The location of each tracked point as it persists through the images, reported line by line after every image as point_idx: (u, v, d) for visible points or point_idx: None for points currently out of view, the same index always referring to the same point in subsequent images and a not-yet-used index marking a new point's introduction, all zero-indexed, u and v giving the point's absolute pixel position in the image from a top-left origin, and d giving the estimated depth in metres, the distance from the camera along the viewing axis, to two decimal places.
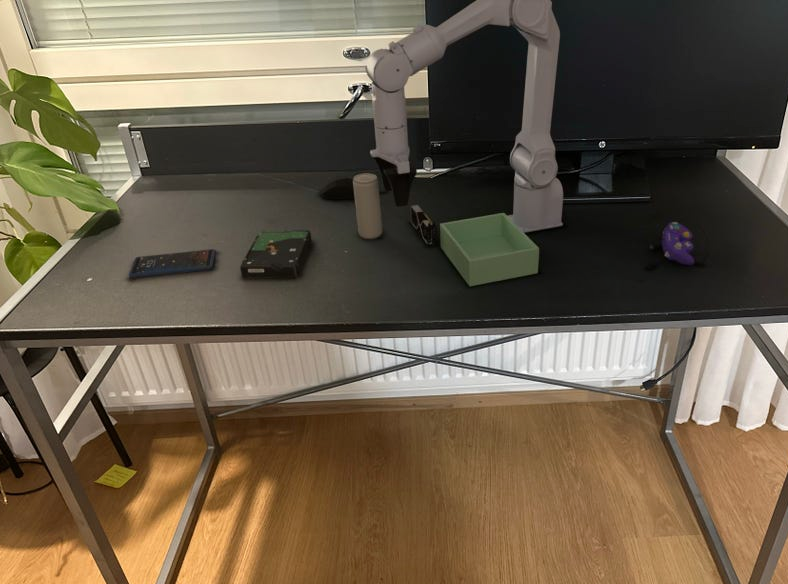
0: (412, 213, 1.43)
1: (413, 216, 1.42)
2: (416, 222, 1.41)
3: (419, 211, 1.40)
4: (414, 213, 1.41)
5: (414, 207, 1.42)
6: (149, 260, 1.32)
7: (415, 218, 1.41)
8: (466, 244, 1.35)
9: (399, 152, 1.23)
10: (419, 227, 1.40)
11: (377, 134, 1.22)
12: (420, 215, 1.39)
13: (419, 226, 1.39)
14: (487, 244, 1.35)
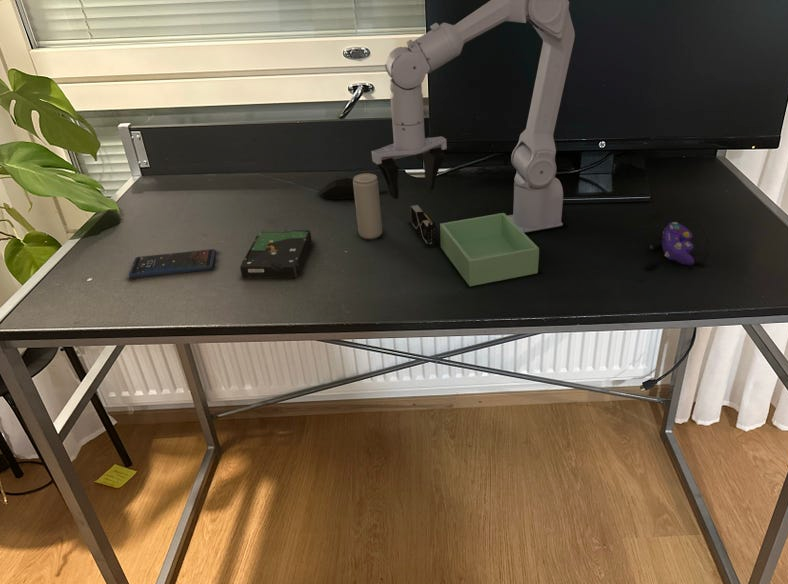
0: (412, 213, 1.43)
1: (413, 216, 1.42)
2: (416, 222, 1.41)
3: (419, 211, 1.40)
4: (414, 213, 1.41)
5: (414, 207, 1.41)
6: (149, 260, 1.32)
7: (415, 218, 1.41)
8: (466, 244, 1.35)
9: (397, 147, 1.26)
10: (419, 227, 1.39)
11: None
12: (420, 215, 1.38)
13: (419, 226, 1.39)
14: (487, 244, 1.35)
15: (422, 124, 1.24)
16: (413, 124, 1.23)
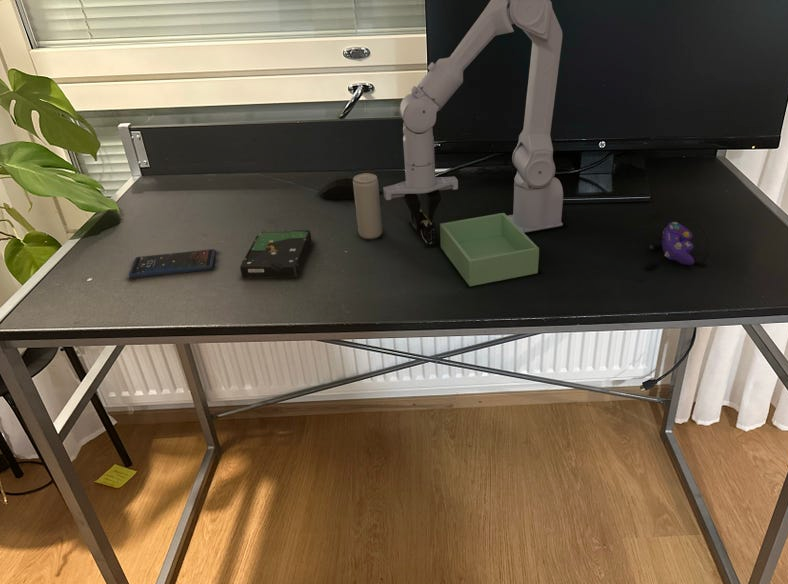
0: None
1: None
2: None
3: None
4: None
5: None
6: (149, 260, 1.32)
7: None
8: (466, 244, 1.35)
9: (407, 185, 1.33)
10: None
11: None
12: None
13: None
14: (487, 244, 1.35)
15: (432, 165, 1.30)
16: (422, 165, 1.29)
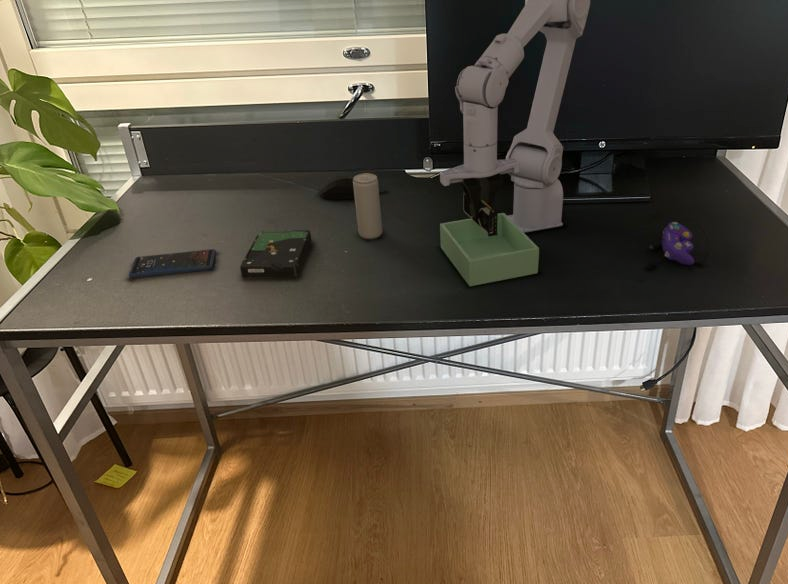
0: (465, 201, 1.30)
1: (467, 204, 1.30)
2: None
3: None
4: None
5: None
6: (149, 260, 1.32)
7: None
8: (466, 244, 1.35)
9: (467, 169, 1.20)
10: None
11: None
12: None
13: None
14: (487, 244, 1.35)
15: (495, 146, 1.18)
16: (485, 146, 1.17)
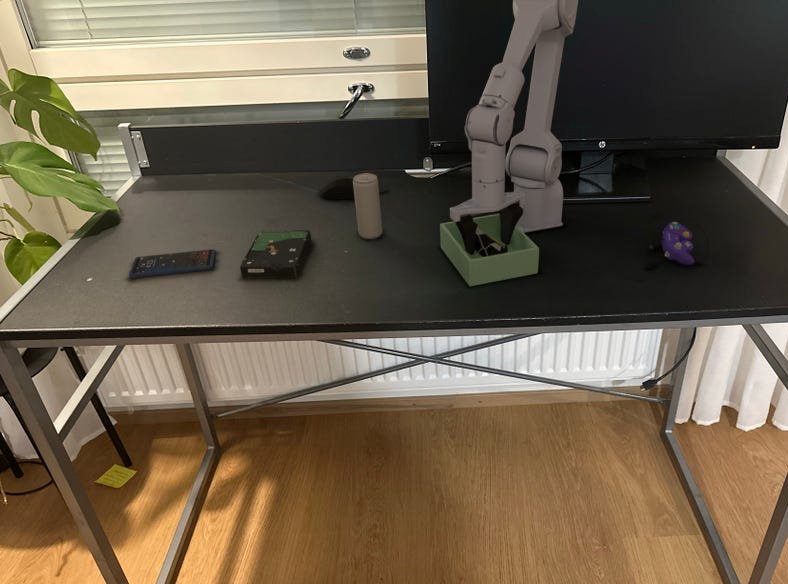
0: None
1: None
2: (478, 245, 1.31)
3: (481, 233, 1.30)
4: None
5: None
6: (149, 260, 1.32)
7: (476, 241, 1.31)
8: None
9: (476, 204, 1.22)
10: (483, 251, 1.30)
11: None
12: (485, 238, 1.29)
13: (483, 250, 1.29)
14: None
15: (503, 181, 1.21)
16: (495, 182, 1.19)
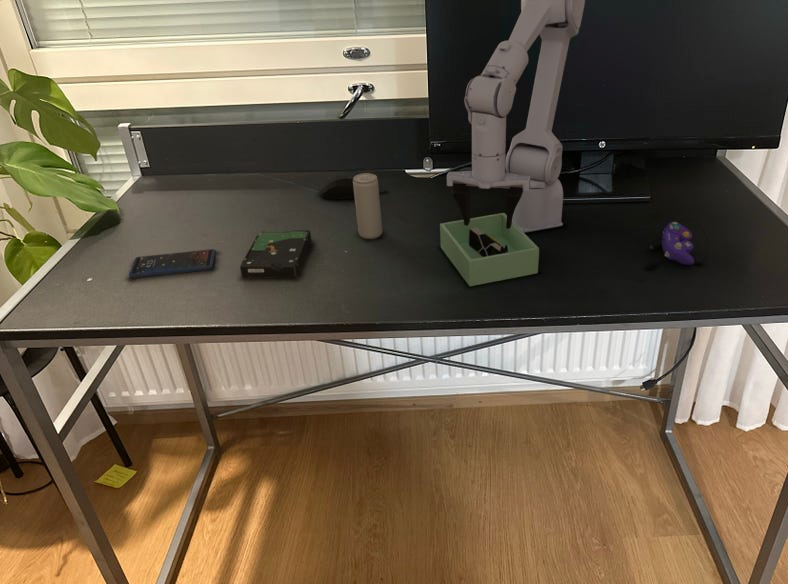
0: (471, 236, 1.32)
1: (472, 239, 1.32)
2: (478, 245, 1.31)
3: (481, 233, 1.30)
4: (474, 236, 1.31)
5: (474, 229, 1.31)
6: (149, 260, 1.32)
7: (476, 241, 1.31)
8: (466, 244, 1.35)
9: (504, 174, 1.21)
10: (483, 251, 1.30)
11: (490, 164, 1.17)
12: (485, 238, 1.29)
13: (483, 250, 1.29)
14: None
15: None
16: None
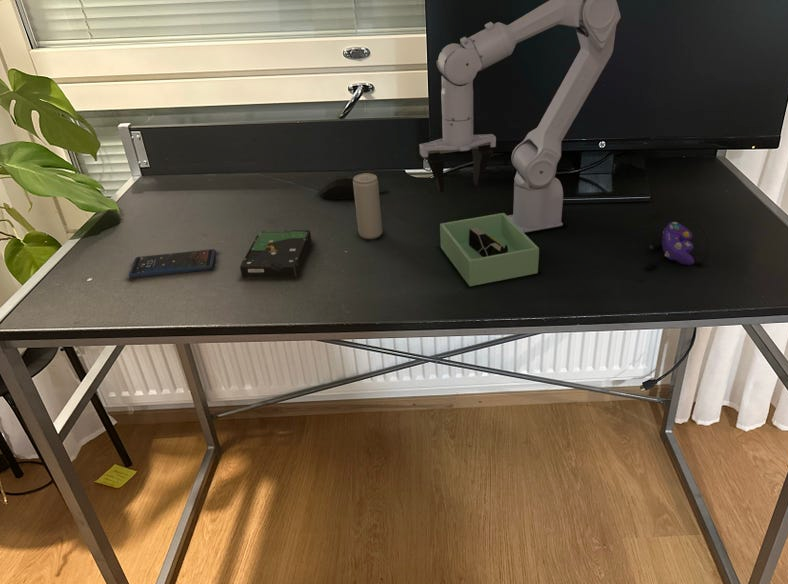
0: (471, 236, 1.32)
1: (472, 239, 1.32)
2: (478, 245, 1.31)
3: (481, 233, 1.30)
4: (474, 236, 1.31)
5: (474, 229, 1.31)
6: (149, 260, 1.32)
7: (476, 241, 1.31)
8: (466, 244, 1.35)
9: None
10: (483, 251, 1.30)
11: (467, 126, 1.26)
12: (485, 238, 1.29)
13: (483, 250, 1.29)
14: None
15: None
16: None
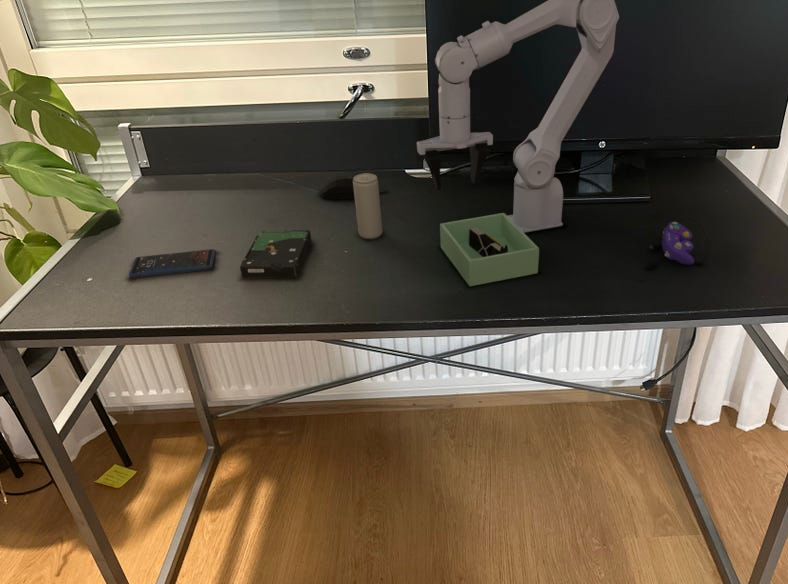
0: (471, 236, 1.32)
1: (472, 239, 1.32)
2: (478, 245, 1.31)
3: (481, 233, 1.30)
4: (474, 236, 1.31)
5: (474, 229, 1.31)
6: (149, 260, 1.32)
7: (476, 241, 1.31)
8: (466, 244, 1.35)
9: None
10: (483, 251, 1.30)
11: (463, 124, 1.27)
12: (485, 238, 1.29)
13: (483, 250, 1.29)
14: None
15: None
16: None
